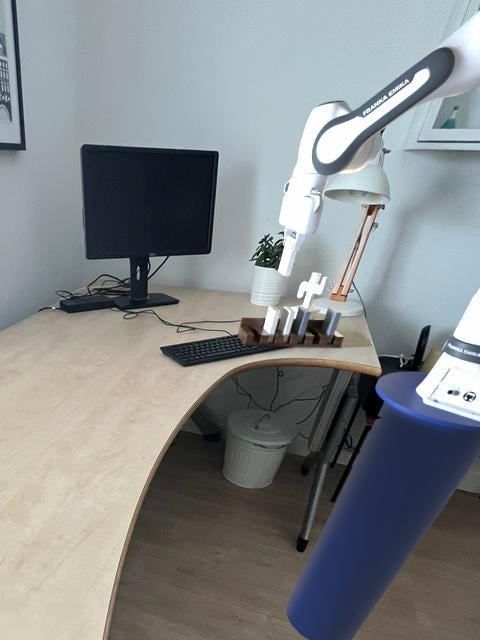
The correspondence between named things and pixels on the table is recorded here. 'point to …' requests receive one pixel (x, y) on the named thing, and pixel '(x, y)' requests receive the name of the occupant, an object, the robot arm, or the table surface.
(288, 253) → the white book
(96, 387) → the table surface
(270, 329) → the white book
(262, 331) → the book rack
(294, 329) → the grey book
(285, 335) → the white book
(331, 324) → the grey book
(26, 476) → the table surface
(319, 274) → the figurine
